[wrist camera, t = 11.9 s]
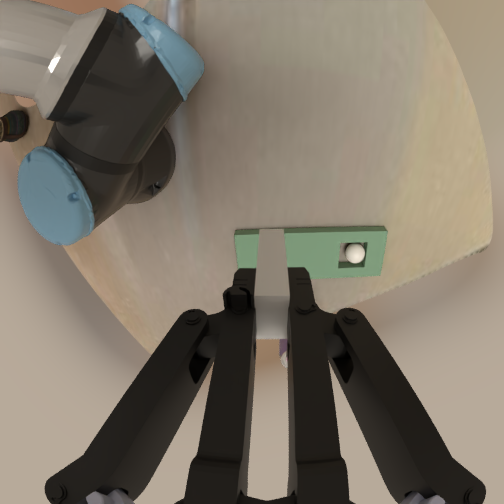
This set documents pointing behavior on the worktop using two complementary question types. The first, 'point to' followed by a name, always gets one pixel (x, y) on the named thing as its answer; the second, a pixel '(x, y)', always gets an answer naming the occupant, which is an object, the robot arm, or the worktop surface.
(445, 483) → the robot arm
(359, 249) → the white ball
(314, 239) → the green rectangular board
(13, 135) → the mate gourd
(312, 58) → the worktop surface
